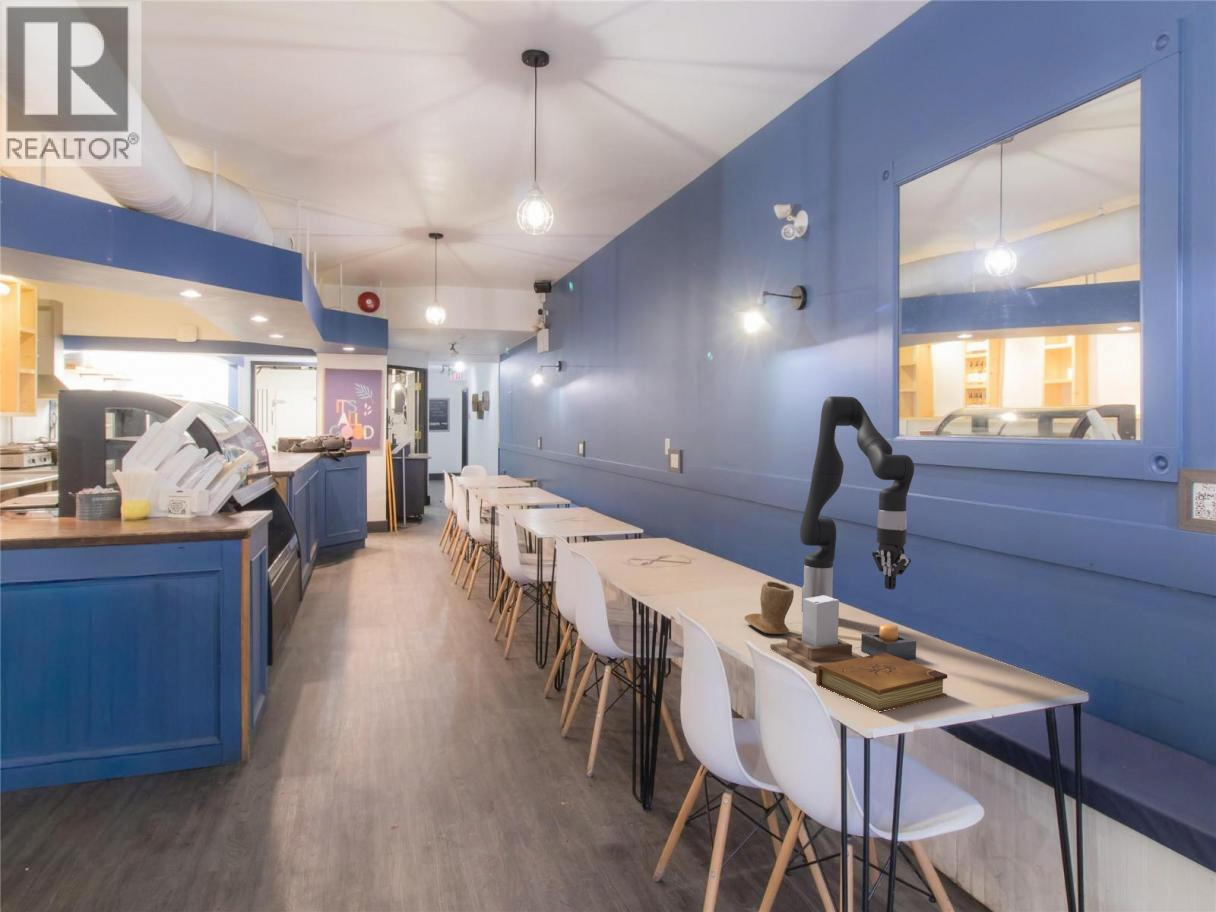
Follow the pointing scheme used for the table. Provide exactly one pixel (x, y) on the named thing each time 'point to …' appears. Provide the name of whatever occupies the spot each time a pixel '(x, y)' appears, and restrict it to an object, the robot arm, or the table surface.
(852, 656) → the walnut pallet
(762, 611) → the brown hat
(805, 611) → the skincare box
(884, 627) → the button
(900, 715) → the table surface
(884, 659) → the diary
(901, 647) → the button housing
